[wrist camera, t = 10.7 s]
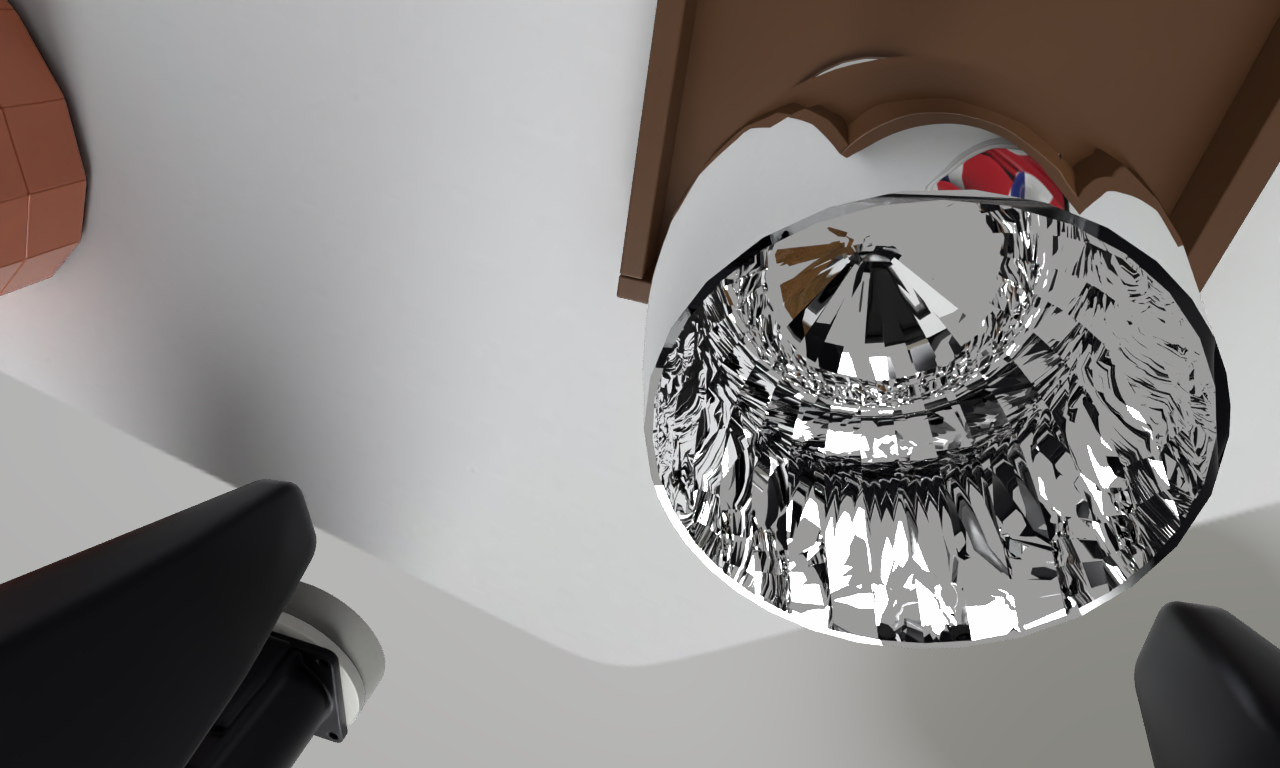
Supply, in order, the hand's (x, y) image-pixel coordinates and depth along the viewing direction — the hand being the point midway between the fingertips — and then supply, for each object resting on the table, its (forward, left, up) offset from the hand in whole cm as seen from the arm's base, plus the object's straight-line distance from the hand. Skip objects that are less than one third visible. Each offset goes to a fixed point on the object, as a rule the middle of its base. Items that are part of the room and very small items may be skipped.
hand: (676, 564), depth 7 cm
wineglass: (+2, -2, -12) cm, 12 cm away
